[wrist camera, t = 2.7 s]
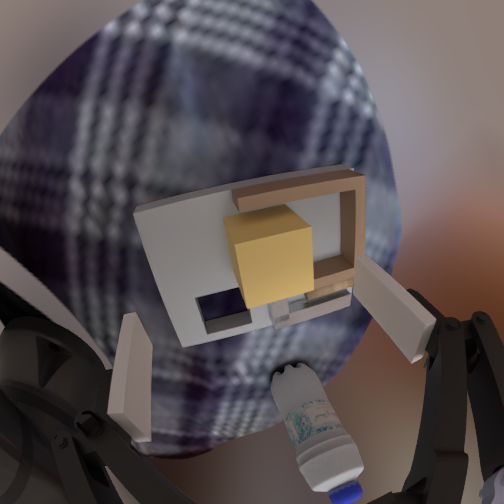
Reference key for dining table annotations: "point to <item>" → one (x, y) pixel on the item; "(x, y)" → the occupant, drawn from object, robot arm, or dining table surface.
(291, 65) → the dining table surface
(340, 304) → the crook tool
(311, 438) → the bottle
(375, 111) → the dining table surface
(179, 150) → the dining table surface
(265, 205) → the cubby deck
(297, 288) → the block
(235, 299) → the dining table surface
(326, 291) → the dowel
